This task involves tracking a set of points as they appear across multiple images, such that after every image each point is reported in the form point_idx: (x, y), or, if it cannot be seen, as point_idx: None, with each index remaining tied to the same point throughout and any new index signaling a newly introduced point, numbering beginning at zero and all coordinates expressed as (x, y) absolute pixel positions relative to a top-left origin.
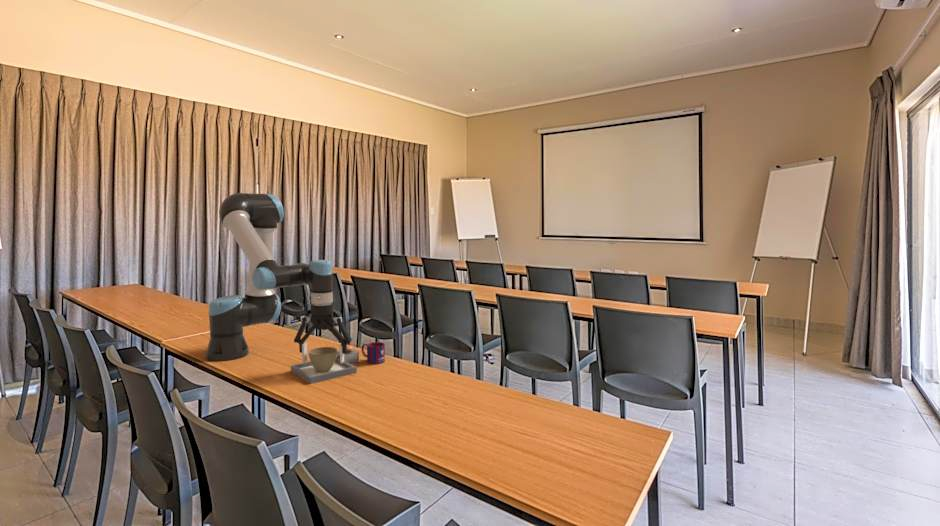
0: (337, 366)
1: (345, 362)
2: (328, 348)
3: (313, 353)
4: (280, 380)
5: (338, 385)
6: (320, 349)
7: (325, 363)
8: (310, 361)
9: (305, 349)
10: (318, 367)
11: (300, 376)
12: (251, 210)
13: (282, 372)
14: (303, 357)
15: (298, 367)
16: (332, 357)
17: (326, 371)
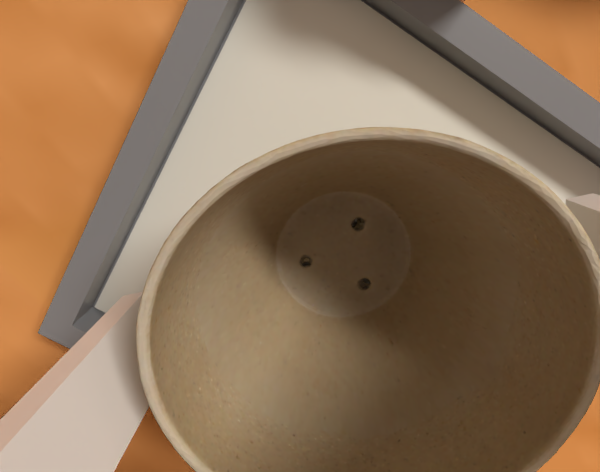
0: (426, 122)
1: (531, 82)
2: (336, 145)
3: (182, 303)
4: (154, 468)
5: (596, 448)
6: (214, 211)
7: (440, 384)
8: (119, 175)
9: (89, 435)
10: (356, 368)
11: None
12: None
13: (34, 346)
14: (143, 402)
15: (99, 286)
16: (534, 372)
17: (394, 283)
